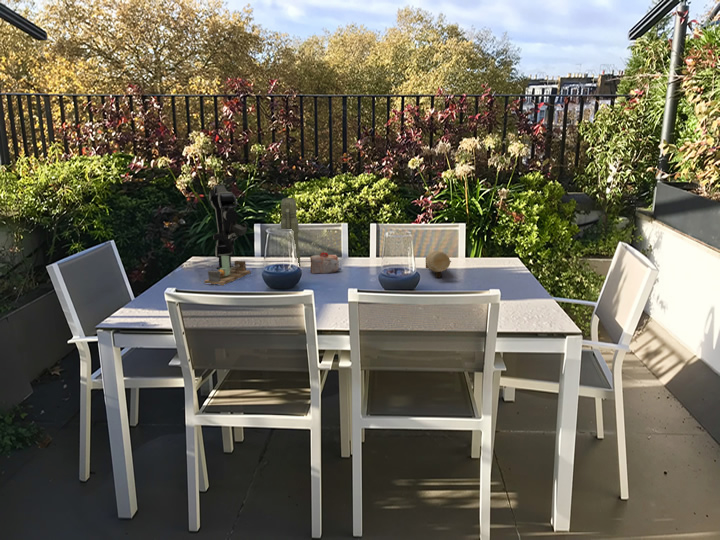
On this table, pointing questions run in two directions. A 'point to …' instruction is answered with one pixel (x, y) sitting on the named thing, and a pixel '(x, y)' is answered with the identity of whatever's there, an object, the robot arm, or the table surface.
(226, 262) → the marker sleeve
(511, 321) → the table surface
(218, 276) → the linear slide rail
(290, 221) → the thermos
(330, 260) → the food item
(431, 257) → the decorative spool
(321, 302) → the table surface
